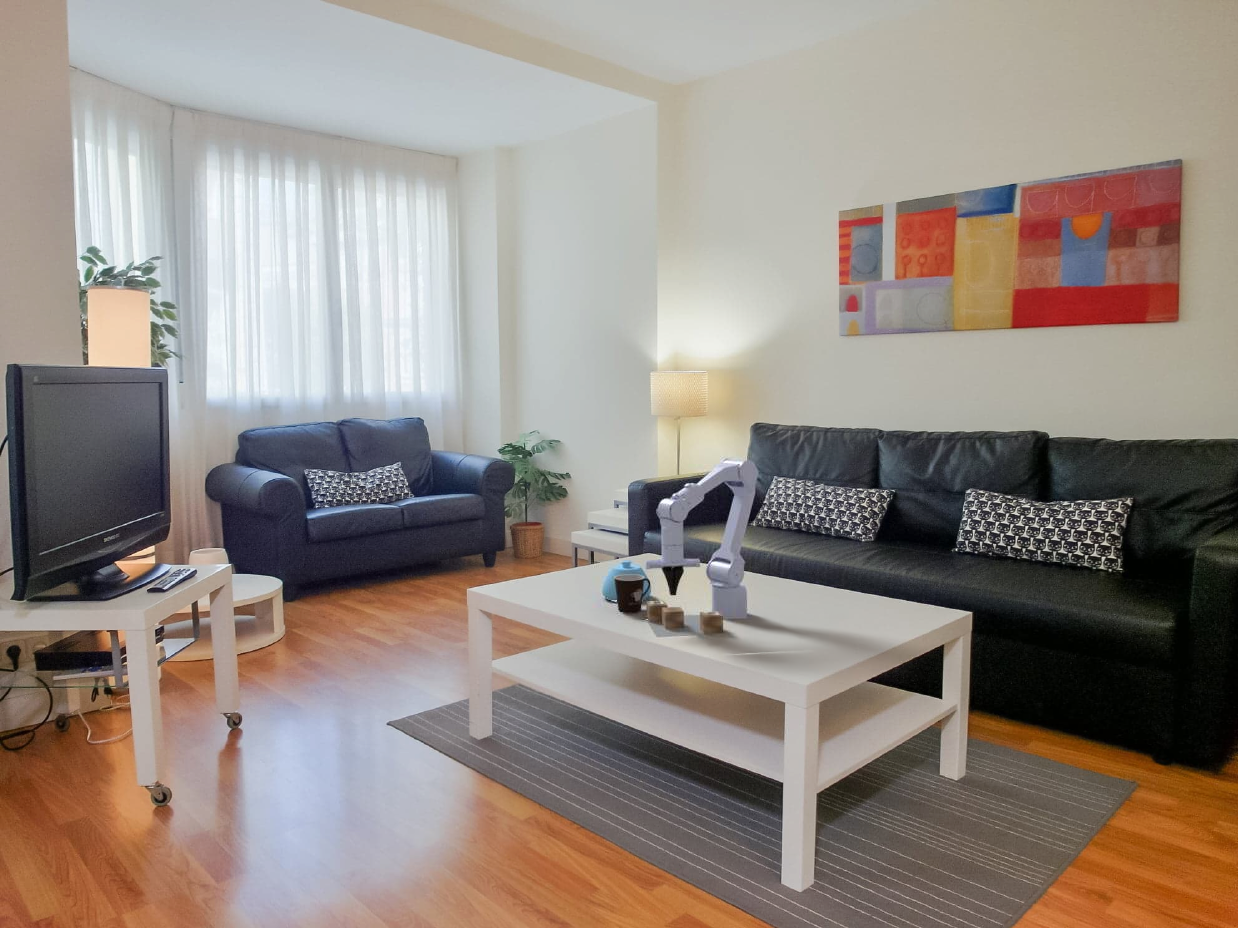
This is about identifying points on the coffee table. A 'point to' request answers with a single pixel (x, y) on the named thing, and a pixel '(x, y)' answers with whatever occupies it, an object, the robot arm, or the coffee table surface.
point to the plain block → (672, 617)
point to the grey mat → (689, 628)
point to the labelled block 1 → (655, 610)
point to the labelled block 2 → (711, 622)
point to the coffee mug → (630, 592)
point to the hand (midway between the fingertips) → (672, 594)
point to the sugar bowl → (623, 569)
